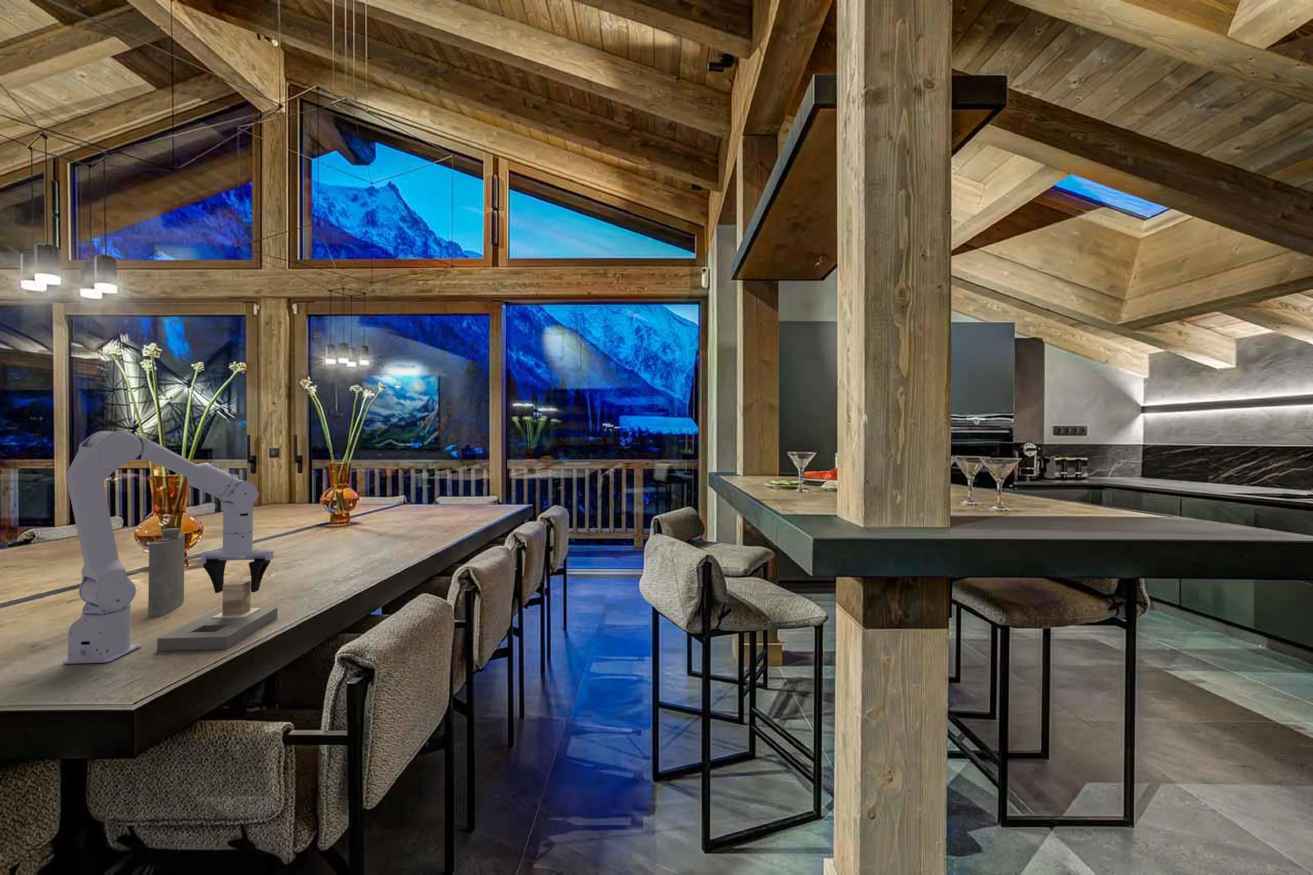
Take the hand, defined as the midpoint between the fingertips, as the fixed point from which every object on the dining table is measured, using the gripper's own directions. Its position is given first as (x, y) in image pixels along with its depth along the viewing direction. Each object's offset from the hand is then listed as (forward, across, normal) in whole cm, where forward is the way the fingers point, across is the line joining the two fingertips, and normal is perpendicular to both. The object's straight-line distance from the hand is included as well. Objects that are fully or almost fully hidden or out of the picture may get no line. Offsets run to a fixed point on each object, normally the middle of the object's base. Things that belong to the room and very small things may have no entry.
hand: (237, 591), depth 143 cm
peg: (+5, 0, 0) cm, 5 cm away
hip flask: (+8, +24, -16) cm, 30 cm away
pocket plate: (+8, 0, +6) cm, 10 cm away
